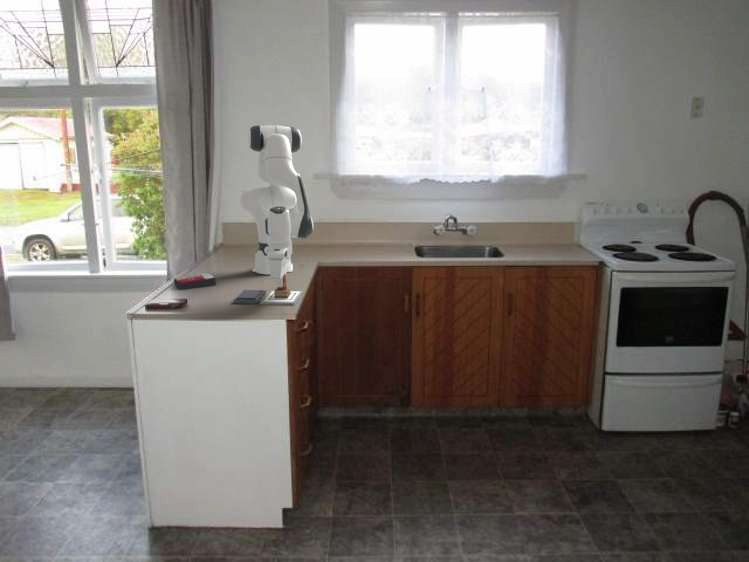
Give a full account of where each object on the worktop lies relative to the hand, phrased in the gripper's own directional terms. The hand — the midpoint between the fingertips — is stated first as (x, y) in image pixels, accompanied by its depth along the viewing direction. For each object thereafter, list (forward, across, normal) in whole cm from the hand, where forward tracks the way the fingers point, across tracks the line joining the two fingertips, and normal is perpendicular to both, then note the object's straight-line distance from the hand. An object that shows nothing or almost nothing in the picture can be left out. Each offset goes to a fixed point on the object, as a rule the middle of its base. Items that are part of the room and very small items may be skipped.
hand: (282, 285), depth 238 cm
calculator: (+6, -20, -42) cm, 47 cm away
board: (+5, 0, 0) cm, 5 cm away
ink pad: (+5, +1, -12) cm, 14 cm away
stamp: (+4, 0, 0) cm, 4 cm away
